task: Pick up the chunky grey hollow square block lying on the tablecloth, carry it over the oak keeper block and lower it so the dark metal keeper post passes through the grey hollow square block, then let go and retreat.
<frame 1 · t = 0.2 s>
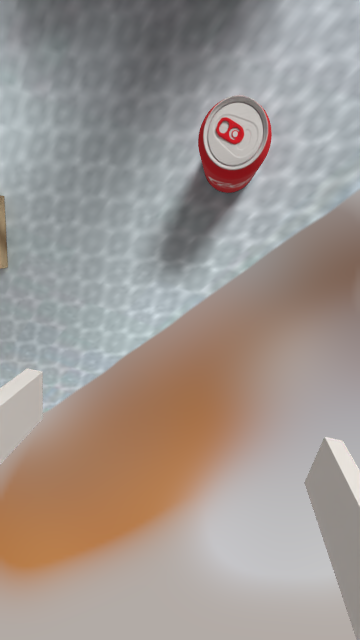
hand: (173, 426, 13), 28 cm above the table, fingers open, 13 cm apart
beverage can: (229, 165, 34), on the table
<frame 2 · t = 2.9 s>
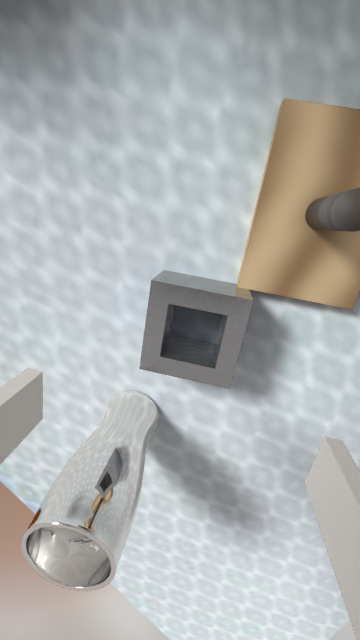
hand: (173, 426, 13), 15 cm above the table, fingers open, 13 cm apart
keeper: (316, 214, 23), on the table
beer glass: (134, 411, 32), on the table
grey hollow square block: (196, 317, 27), on the table
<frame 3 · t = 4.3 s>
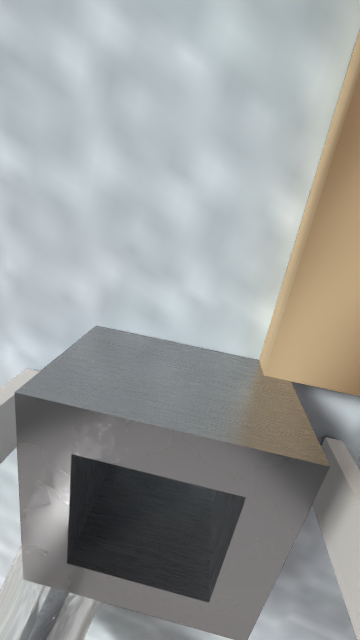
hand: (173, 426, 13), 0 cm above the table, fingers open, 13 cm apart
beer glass: (66, 561, 18), on the table
grey hollow square block: (172, 421, 13), on the table
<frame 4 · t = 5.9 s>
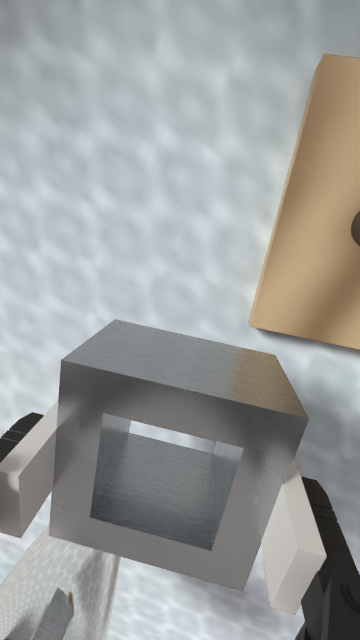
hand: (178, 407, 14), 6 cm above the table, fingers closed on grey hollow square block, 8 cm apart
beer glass: (113, 477, 25), on the table
grey hollow square block: (178, 406, 15), point 6 cm above the table, touching gripper
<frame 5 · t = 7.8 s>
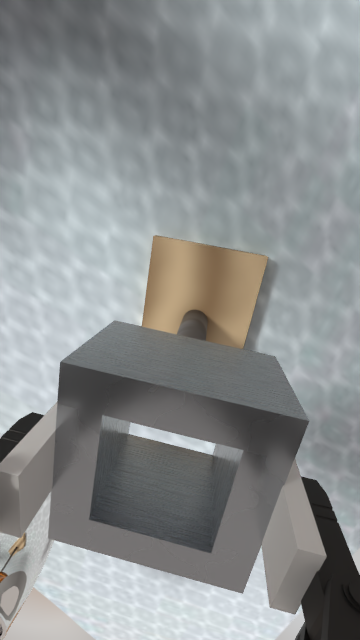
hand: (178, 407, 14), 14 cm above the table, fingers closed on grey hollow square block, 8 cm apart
keeper: (195, 317, 27), on the table
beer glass: (65, 465, 36), on the table
grey hollow square block: (178, 407, 15), point 14 cm above the table, touching gripper
when the fingers open (4 cm above the table, at t = 9.9 s): grey hollow square block drops 2 cm, resting on keeper.
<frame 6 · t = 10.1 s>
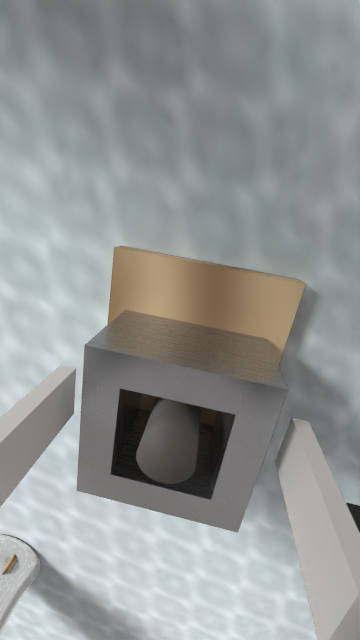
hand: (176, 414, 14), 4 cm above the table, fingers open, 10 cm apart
keeper: (186, 371, 18), on the table
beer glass: (13, 553, 27), on the table
grey hollow square block: (182, 384, 17), point 1 cm above the table, touching keeper
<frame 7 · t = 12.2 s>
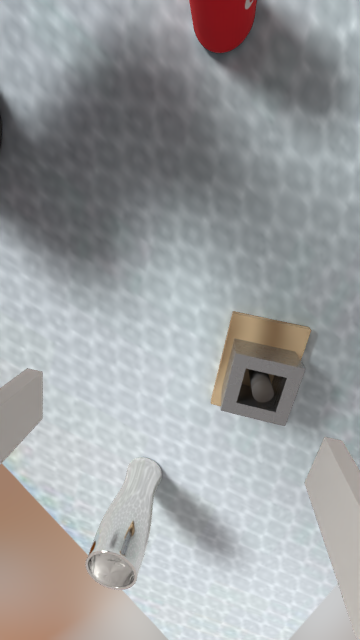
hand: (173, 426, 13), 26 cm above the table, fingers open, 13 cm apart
keeper: (256, 365, 39), on the table
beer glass: (145, 470, 48), on the table
beverage can: (223, 21, 29), on the table
grey hollow square block: (256, 371, 38), point 1 cm above the table, touching keeper
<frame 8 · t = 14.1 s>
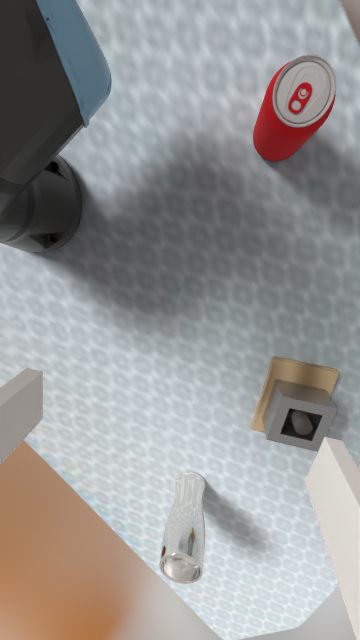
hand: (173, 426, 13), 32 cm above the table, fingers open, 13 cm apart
keeper: (291, 398, 47), on the table
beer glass: (190, 482, 56), on the table
beverage can: (276, 135, 35), on the table
grey hollow square block: (292, 404, 46), point 1 cm above the table, touching keeper
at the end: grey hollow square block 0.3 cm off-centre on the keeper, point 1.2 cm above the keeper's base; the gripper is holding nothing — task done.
